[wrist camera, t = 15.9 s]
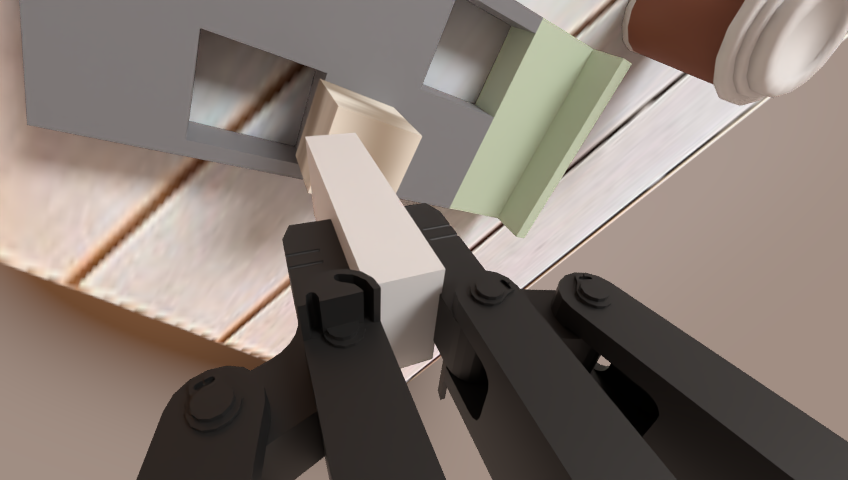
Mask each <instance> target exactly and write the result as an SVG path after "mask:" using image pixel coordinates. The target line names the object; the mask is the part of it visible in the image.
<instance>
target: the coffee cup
mask: <svg viewBox="0 0 848 480" xmlns="http://www.w3.org/2000/svg"><path fill="white" fill-rule="evenodd" d="M847 31H848V0H630V1H629V3H628V5H627V7H626V10H625V14H624V18H623V23H622V36H623V41H624V43H625V45H626V47H627V49H628V50H630V51H632V52H635V53H637V54H641V55H644V56H646V57H649V58H651V59H653V60H656V61H658V62H661V63H663V64H665V65H668V66H670V67H673V68H675V69H677V70H680V71H682V72H685V73H687V74H689V75H692V76H694V77H697V78H699V79H702V80H704V81H706V82H709V83H711V84H714V86H715V89H716V92H717V94H718V97H719V98H721V99H723V100H726V101H728V102H731V103H734V104H737V105H745V104H748V103H752V102H755V101H759V100H761V99H762V98H764V97H765V96H768V97H772V98H774V97H778V96H781V95H785V94H788V93H790V92H792V91H793V90H795V89H796V88H798V87H799V86H801V85H802V84H804V83H805V82H806V81H808V80H809V79H810V78H811V77H812V76H813V75H814V74H815V73H816V72H817V71H818V70H819V69H820V68H821V67H822V66H823V65H824V64H825V63H826V61H827V60H828V59H829V58H830V56H831V55H832V53H833V52H834V51H835V50H836V49H837V47H838V46H839V45H840V43H841V42H842V40H843V38H844V36H845V35H846V33H847Z"/></svg>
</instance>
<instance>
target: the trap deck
mask: <svg viewBox="0 0 848 480" xmlns="http://www.w3.org/2000/svg"><path fill="white" fill-rule="evenodd" d="M467 1H469V2H470V3H472V4H474V5H476V6H477V7H479V8H481V9H483V10H484V11H486V12H488V13H490V14H491V15H493V16H495V17H497V18H498V19H500V20H502V21H504V22H505V23H507V24H509V25H511V28H510V30H509V32H508V35H507V37H506V39H505V41H504V43H503V45H502V48H501V50H500V52H499V54H498V56H497V58H496V60H495V63H494V65H493V67H492V69H491V71H490V73H489V76H488V78H487V80H486V82H485V84H484V86H483V89H482V91H481V93H480V95H479V97H478V99H477V101H476V104H475V105H474V104H472V103H469V102H467V101H464V100H462V99H459V98H457V97H454V96H451V95H449V94H446V93H444V92H441V91H439V90H436V89H434V88H431V87H428V86H426V85H423V82H424V79H425V77H426V74H427V71H428V69H429V66H430V64H431V61H432V59H433V56H434V54H435V51H436V49H437V46H438V43H439V41H440V38H441V36H442V33H443V31H444V28H445V26H446V23H447V20H448V18H449V15H450V13H451V10H452V8H453V5H454V3H455V0H19V3H20V19H21V35H22V50H23V66H24V82H25V97H26V113H27V125H30V126H35V127H41V128H46V129H51V130H56V131H61V132H66V133H71V134H76V135H81V136H86V137H91V138H96V139H101V140H106V141H111V142H116V143H121V144H126V145H131V146H136V147H142V148H147V149H152V150H157V151H162V152H167V153H172V154H177V155H182V156H187V157H192V158H197V159H202V160H207V161H212V162H217V163H222V164H227V165H232V166H237V167H242V168H248V169H253V170H258V171H263V172H268V173H273V174H278V175H283V176H288V177H293V178H298V179H303V176H302V173H301V170H300V167H299V164H298V161H297V158H296V152H297V149H298V146H299V142H300V139H301V136H302V133H303V130H304V127H305V124H306V120H307V117H308V114H309V111H310V108H311V105H312V102H313V98H314V95H315V92H316V89H317V86H318V83H319V80H320V79H322V80H325V81H327V82H330V83H332V84H335V85H338V86H340V87H343V88H345V89H348V90H350V91H353V92H355V93H358V94H361V95H363V96H366V97H368V98H371V99H373V100H376V101H379V102H381V103H384V104H386V105H389V106H391V107H394V108H395V109H396V110H397V111H398V112H399V113H400V114H401V115H402V116H403V117H404V118H405V119H406V120H407V121H408V122H409V123H410V124H411V125H412V126H413V127H414V128H415V129H416V130H417V131H418V132H419V133H420V134H421V135H422V138H421V140H420V143H419V145H418V147H417V149H416V151H415V153H414V156H413V158H412V160H411V162H410V164H409V166H408V169H407V171H406V173H405V175H404V177H403V179H402V182H401V184H400V186H399V188H398V190H397V192H396V195H397V196H398V198H399V199H404V200H409V201H414V202H419V203H426V204H429V205H434V206H439V207H444V208H449V209H455V210H460V211H465V212H470V213H475V214H480V215H485V216H490V217H495V218H498V219H499V220H500V221H501V222H502V223H503V224H504V225H505V226H506V227H507V228H508V229H509V230H510V231H511V232H512V233H513V234H514V235H515V236H516V237H520V238H525V236H526V235H527V233H528V231H529V230H530V228H531V226H532V225H533V223H534V222H535V220H536V218H537V217H538V215H539V214H540V212H541V210H542V209H543V207H544V205H545V204H546V202H547V201H548V199H549V197H550V196H551V194H552V193H553V191H554V189H555V188H556V186H557V184H558V183H559V181H560V180H561V178H562V176H563V175H564V173H565V171H566V170H567V168H568V167H569V165H570V163H571V162H572V160H573V159H574V157H575V155H576V154H577V152H578V150H579V149H580V147H581V146H582V144H583V142H584V141H585V139H586V137H587V136H588V134H589V133H590V131H591V129H592V128H593V126H594V125H595V123H596V121H597V120H598V118H599V116H600V115H601V113H602V112H603V110H604V108H605V107H606V105H607V104H608V102H609V100H610V99H611V97H612V95H613V94H614V92H615V91H616V89H617V87H618V86H619V84H620V82H621V81H622V79H623V78H624V76H625V74H626V73H627V71H628V70H629V68H630V66H631V65H632V63H630V62H629V61H627V60H625V59H624V58H621V57H617V56H614V55H611V54H608V53H604V52H601V51H598V50H595V49H593V48H591V47H589V46H588V45H586V44H584V43H583V42H581V41H580V40H578V39H576V38H575V37H573V36H572V35H570V34H568V33H567V32H565V31H564V30H562V29H560V28H559V27H557V26H556V25H554V24H552V23H551V22H549V21H547V20H546V19H544V18H543V17H541V16H539V15H538V14H536V13H535V12H533V11H531V10H530V9H528V8H527V7H525V6H523V5H522V4H520V3H519V2H517V1H515V0H467ZM201 29H204V30H207V31H210V32H212V33H215V34H218V35H221V36H224V37H227V38H229V39H232V40H235V41H238V42H241V43H243V44H246V45H249V46H252V47H255V48H258V49H260V50H263V51H266V52H269V53H272V54H275V55H277V56H280V57H283V58H286V59H289V60H291V61H294V62H297V63H300V64H303V65H306V66H308V67H311V68H314V69H316V71H315V74H314V78H313V82H312V86H311V89H310V93H309V97H308V101H307V104H306V108H305V112H304V116H303V120H302V123H301V127H300V131H299V135H298V138H297V142H296V146H290V145H286V144H282V143H278V142H274V141H270V140H265V139H261V138H257V137H253V136H249V135H245V134H240V133H236V132H232V131H228V130H224V129H220V128H215V127H211V126H207V125H203V124H199V123H195V122H191V121H189V116H190V108H191V101H192V93H193V85H194V78H195V70H196V62H197V55H198V47H199V39H200V31H201ZM303 180H304V179H303Z"/></svg>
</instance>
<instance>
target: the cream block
mask: <svg viewBox="0 0 848 480" xmlns="http://www.w3.org/2000/svg"><path fill="white" fill-rule="evenodd" d="M344 133H356V134H357V136H358V137H359V139H360V140H361V142H362V143H363V145H364V146H365V148H366V149H367V151H368V152H369V154H370V155H371V157H372V158H373V160H374V162H375V163H376V165H377V166H378V168H379V169H380V171H381V172H382V174H383V175H384V177H385V178H386V180H387V181H388V183H389V184H390V186H391V187H392V189H393V190H394V192H395V193H396V192H397V190H398V188H399V186H400V184H401V182H402V179H403V177H404V175H405V173H406V171H407V169H408V166H409V164H410V162H411V160H412V158H413V156H414V153H415V151H416V149H417V147H418V145H419V143H420V140H421V138H422V135H421V134H420V133H419V132H418V131H417V130H416V129H415V128H414V127H413V126H412V125H411V124H410V123H409V122H408V121H407V120H406V119H405V118H404V117H403V116H402V115H401V114H400V113H399V112H398V111H397V110H396V109H395V108H394V107H391V106H389V105H386V104H384V103H381V102H379V101H376V100H373V99H371V98H368V97H366V96H363V95H361V94H358V93H355V92H353V91H350V90H348V89H345V88H343V87H340V86H338V85H335V84H332V83H330V82H327V81H325V80H322V79H320V80H319V83H318V86H317V89H316V92H315V95H314V98H313V102H312V105H311V108H310V111H309V114H308V117H307V120H306V124H305V127H304V130H303V133H302V136H301V139H300V142H299V146H298V149H297V152H296V158H297V161H298V164H299V167H300V170H301V173H302V176H303V179H304V182H305V185H306V188H307V191H308V193H310V194H312V192H311V183H310V175H309V166H308V157H307V149H306V140H305V137H307V136H319V135H331V134H344Z"/></svg>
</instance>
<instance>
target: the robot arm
mask: <svg viewBox="0 0 848 480" xmlns="http://www.w3.org/2000/svg"><path fill="white" fill-rule="evenodd" d="M305 140H306V149H307V157H308V166H309V175H310V183H311V192H312V200H313V209H314V215H315V218H316V221H315V222H308V223H302V224H296V225H289V227H288V229H287V231H286V233H285V235H284V237H283V246H284V251H285V256H286V262H287V267H288V273H289V278H290V284H291V289H292V294H293V299H294V304H295V309H296V314H297V319H298V328H297V331H296V334H295V336H294V338H293V339H292V341H291V342H290V344H289V345H288V346H287V347H286V348H285V349H284V350H283V351H282V352H281V353H279V354H278V355H276V356H275V357H274V358H272V359H271V360H269V361H267V362H265V363H264V364H262V365H260V366H258V367H257V368H255V369H253V370H251V371H250V370H248V369H246V368H244V367H236V366H223V367H219V368H215V369H211V370H207V371H205V372H204V373H201V374H200V375H198V376H196V377H194V378H192V379H190V380H189V381H188V382H187V383H186V384H184V385H183V386H182V387H181V388H180V389H179V390H178V391H177V392H176V393H175V394H173V396H172V398H171V399H170V401H169V403H168V404H167V406H166V408H165V409H164V411H163V413H162V416H161V418H160V421H159V423H158V426H157V429H156V431H155V434H154V437H153V439H152V441H151V444H150V446H149V449H148V451H147V454H146V457H145V459H144V462H143V464H142V467H141V470H140V472H139V475H138V477H137V480H295V479H296V478H297V477H299V476H300V475H301V474H302V473H303V472H305V471H306V470H307V469H309V468H310V467H312V466H313V465H314V464H315V463H317V462H318V461H319V460H321V459H322V458H323V457H324V456H325V459H326V465H327V469H328V475H329V479H330V480H446V478H445V476H444V473H443V471H442V469H441V466H440V464H439V461H438V459H437V457H436V454H435V452H434V449H433V447H432V444H431V442H430V440H429V437H428V435H427V433H426V430H425V427H424V425H423V423H422V420H421V418H420V415H419V413H418V410H417V408H416V406H415V403H414V401H413V398H412V396H411V393H410V391H409V389H408V386H407V384H406V381H405V379H404V377H403V374H402V372H401V369H400V368H404V367H407V366H410V365H413V364H417V363H420V362H423V361H426V360H430V359H432V358H433V351H434V344H435V345H436V346H437V348H438V350H439V352H440V354H441V356H442V358H443V364H442V370H441V375H440V381H439V387H438V393H439V396H440V400H441V399H444V398H445V394H446V389H447V388H448V390H449V392H450V394H451V396H452V398H453V400H454V402H455V404H456V406H457V408H458V410H459V412H460V414H461V416H462V419H463V420H464V423H465V424H466V427H467V429H468V430H469V433H470V435H471V437H472V439H473V441H474V443H475V445H476V447H477V449H478V451H479V453H480V455H481V457H482V459H483V461H484V463H485V465H486V467H487V469H488V472H489V474H490V476H491V478H492V479H493V480H848V442H847V441H846V440H844V439H843V438H841V437H840V436H838V435H837V434H835V433H834V432H832V431H831V430H829V429H828V428H826V427H825V426H824V425H822V424H821V423H819V422H818V421H816V420H815V419H813V418H812V417H810V416H809V415H807V414H806V413H804V412H803V411H801V410H800V409H798V408H797V407H795V406H793V405H792V404H791V403H789V402H788V401H786V400H785V399H783V398H782V397H780V396H779V395H777V394H776V393H774V392H773V391H771V390H770V389H768V388H767V387H765V386H764V385H762V384H761V383H759V382H758V381H756V380H755V379H753V378H752V377H751V376H749V375H747V374H746V373H745V372H743V371H741V370H740V369H739V368H737V367H736V366H734V365H733V364H731V363H730V362H728V361H727V360H725V359H724V358H722V357H721V356H719V355H718V354H716V353H715V352H713V351H712V350H710V349H709V348H707V347H706V346H704V345H703V344H701V343H700V342H698V341H697V340H695V339H694V338H692V337H691V336H689V335H688V334H686V333H685V332H683V331H682V330H680V329H679V328H677V327H676V326H674V325H673V324H671V323H670V322H669V321H667V320H665V319H664V318H663V317H661V316H660V315H658V314H657V313H655V312H654V311H652V310H651V309H649V308H648V307H646V306H645V305H643V304H642V303H640V302H639V301H637V300H636V299H634V298H633V297H631V296H630V295H628V294H627V293H625V292H624V291H622V290H621V289H619V288H618V287H616V286H615V285H614V284H612V283H610V282H609V281H607V280H605V279H603V278H601V277H599V276H595V275H592V274H588V273H572V274H568V275H565V276H564V278H562V279H561V280H560V282H559V284H558V287H557V289H556V290H525V289H519V287H518V286H517V285H516V284H515V283H514V282H512V281H511V280H510V279H509V278H507V277H505V276H503V275H501V274H499V273H496V272H491V271H486V270H485V269H484V268H483V267H482V265H481V264H480V263H479V261H478V260H477V259H476V257H475V256H474V255H473V254H472V252H471V251H470V250H469V248H468V247H467V246H466V245H465V243H464V242H463V241H462V239H461V238H460V237H459V236H457V233H456V232H455V230H454V229H453V228H452V226H450V225H449V223H448V221H447V220H446V219H445V217H444V216H443V215H442V213H441V212H440V211H438V210H436V209H435V208H433V207H431V206H430V205H428V204H426V203H421V204H415V205H409V206H404V205H403V204H402V202H401V201H400V199H399V198H398V196H397V195H396V193H395V192H394V190H393V189H392V187H391V186H390V184H389V183H388V181H387V180H386V178H385V177H384V175H383V174H382V172H381V171H380V169H379V168H378V166H377V165H376V163H375V162H374V160H373V158H372V157H371V155H370V154H369V152H368V151H367V149H366V148H365V146H364V145H363V143H362V142H361V140H360V139H359V137H358V136H357V134H356V133H344V134H331V135H319V136H307V137H305ZM601 355H602V356H603V357H604V358H605V359H607V360H608V361H609V362H610V363H611V364H610V366H603V365H600V364H598V363H597V361H598V359H599V357H600V356H601Z"/></svg>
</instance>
